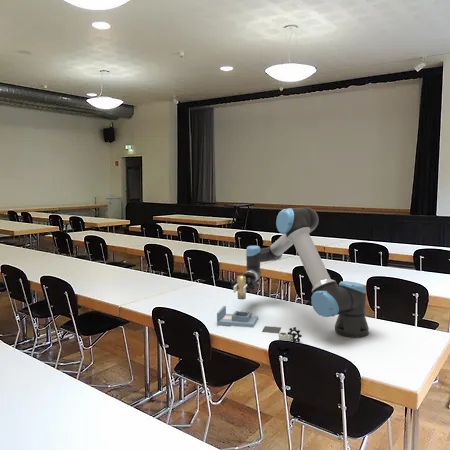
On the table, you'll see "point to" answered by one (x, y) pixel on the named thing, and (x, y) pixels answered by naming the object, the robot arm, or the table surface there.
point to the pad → (271, 329)
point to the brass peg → (241, 287)
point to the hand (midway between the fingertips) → (239, 290)
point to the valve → (290, 335)
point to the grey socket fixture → (236, 318)
